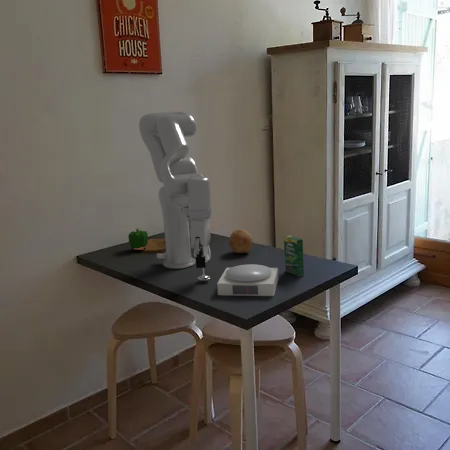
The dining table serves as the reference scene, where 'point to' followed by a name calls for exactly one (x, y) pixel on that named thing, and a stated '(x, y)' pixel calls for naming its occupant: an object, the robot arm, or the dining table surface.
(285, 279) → the dining table surface
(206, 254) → the wineglass
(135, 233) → the bell pepper
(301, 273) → the coffee box
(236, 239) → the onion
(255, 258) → the dining table surface
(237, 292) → the kitchen scale
